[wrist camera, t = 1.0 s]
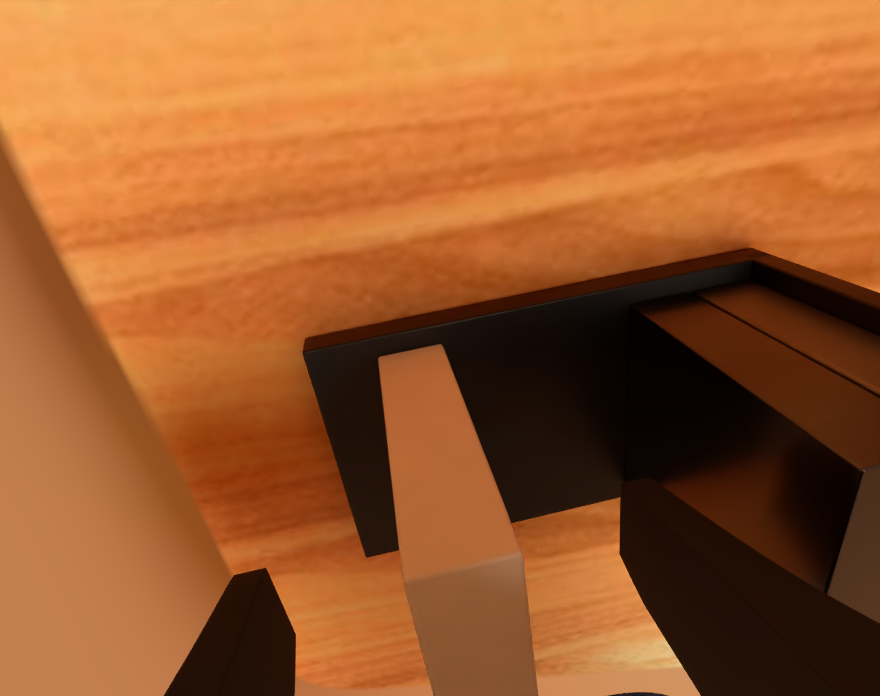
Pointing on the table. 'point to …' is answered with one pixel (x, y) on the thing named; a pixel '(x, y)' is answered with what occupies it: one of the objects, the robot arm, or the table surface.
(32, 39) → the table surface
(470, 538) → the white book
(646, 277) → the black bookend
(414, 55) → the table surface
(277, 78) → the table surface
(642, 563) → the robot arm
